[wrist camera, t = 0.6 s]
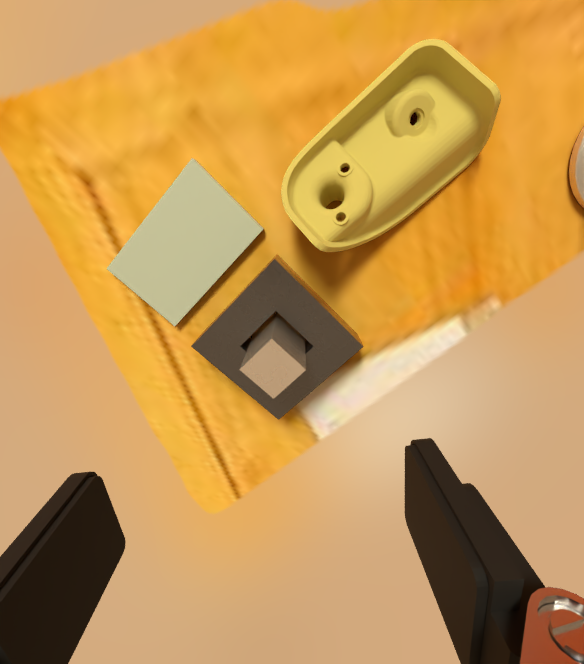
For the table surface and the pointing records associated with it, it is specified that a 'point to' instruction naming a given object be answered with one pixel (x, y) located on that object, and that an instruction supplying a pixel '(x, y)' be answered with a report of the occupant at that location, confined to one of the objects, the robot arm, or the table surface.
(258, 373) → the beige peg
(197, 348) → the socket block
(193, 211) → the sage mat
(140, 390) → the table surface
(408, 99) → the plastic component
